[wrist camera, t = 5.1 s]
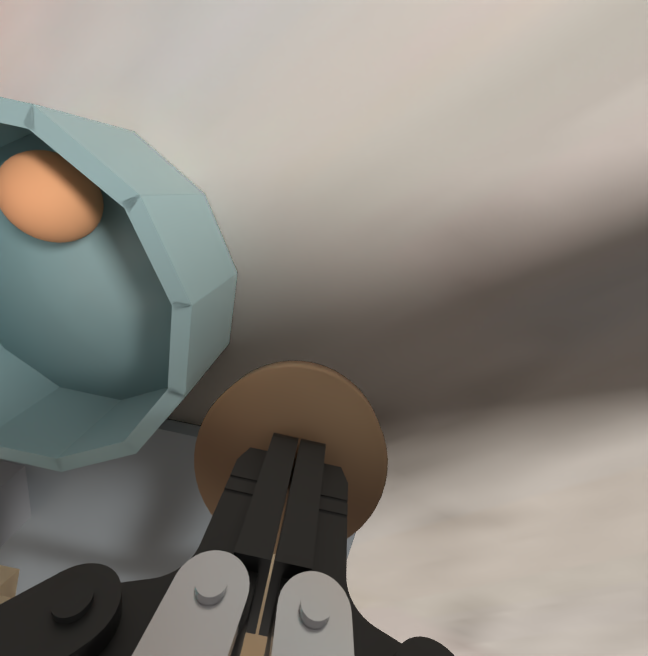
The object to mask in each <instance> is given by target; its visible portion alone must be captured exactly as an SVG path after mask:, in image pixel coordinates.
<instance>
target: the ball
mask: <svg viewBox="0 0 648 656" xmlns="http://www.w3.org/2000/svg"><path fill="white" fill-rule="evenodd" d="M103 208H104V203H103V196H102V193H101V190H100V188H99V187H98V186H97V185H96V184H95V183H93V182H92V181H91V180H90V179H89V178H87V177H86V176H85V175H84V174H82V173H81V172H80V171H79V170H78V169H76V168H75V167H74V166H73V165H72V164H70V163H69V162H68V161H67V160H66V159H64V158H63V157H62V156H61V155H60V154H58V153H56V152H52V151H47V150H29V151H24V152H21V153H18V154H16V155H14V156H12V157H10V158H9V159H8V160H6V161H5V162H4V163H3V164H2V165H1V167H0V209H1V210H2V212H3V214H4V215H5V216H6V217H7V219H8V220H9V221H10V222H11V223H12V224H13V225H15V226H16V227H17V228H18V229H20V230H21V231H23V232H24V233H26V234H28V235H30V236H32V237H34V238H37V239H40V240H44V241H48V242H56V243H64V242H72V241H76V240H79V239H81V238H83V237H85V236H87V235H88V234H90V233H91V232H92V231H93V230H94V229H95V228H96V227H97V225H98V224H99V222H100V220H101V218H102V215H103Z"/></svg>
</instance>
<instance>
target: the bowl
mask: <svg viewBox="0 0 648 656" xmlns="http://www.w3.org/2000/svg"><path fill="white" fill-rule="evenodd" d="M29 150H47V151H52V152H56V153H58V154H60V155H61V156H62V157H63V158H64V159H66V160H67V161H68V162H69V163H70V164H72V165H73V166H74V167H75V168H76V169H78V170H79V171H80V172H81V173H82V174H84V175H85V176H86V177H87V178H89V179H90V180H91V181H92V182H93V183H95V184H96V185H97V186H98V187H99V188H100V190H101V193H102V196H103V203H104V208H103V215H102V218H101V220H100V222H99V224H98V225H97V227H96V228H95V229H94V230H93V231H92V232H91V233H90V234H88V235H87V236H85V237H83V238H81V239H79V240H76V241H72V242H64V243H56V242H48V241H44V240H40V239H37V238H34V237H32V236H30V235H28V234H26V233H24V232H23V231H21V230H20V229H18V228H17V227H16V226H15V225H13V224H12V223H11V222H10V221H9V220H8V219H7V217H6V216H5V215H4V214H3V212H2V210H1V209H0V459H5V460H9V461H14V462H18V463H23V464H28V465H32V466H37V467H42V468H46V469H51V470H55V471H60V472H63V471H67V470H71V469H75V468H79V467H84V466H88V465H92V464H96V463H100V462H104V461H108V460H112V459H116V458H120V457H124V456H129V455H133V454H136V453H137V452H138V451H139V450H140V448H141V447H142V446H143V445H144V444H145V443H146V441H147V440H148V439H149V438H150V437H151V436H152V435H153V433H154V432H155V431H156V430H157V429H158V428H159V427H160V425H161V424H162V423H163V422H164V421H165V420H166V419H167V417H168V416H169V415H170V414H171V413H172V412H173V411H174V409H175V408H176V407H177V406H178V405H179V404H180V402H181V401H182V400H183V399H184V398H185V397H186V396H187V395H188V393H189V392H190V391H191V390H192V388H193V387H194V386H195V385H196V384H197V382H198V381H199V380H200V379H201V377H202V376H203V375H204V374H205V372H206V371H207V370H208V369H209V368H210V366H211V365H212V364H213V363H214V361H215V360H216V359H217V358H218V356H219V355H220V354H221V353H222V352H223V350H224V349H225V348H226V347H227V345H228V344H229V341H230V332H231V324H232V315H233V307H234V298H235V290H236V282H237V270H236V268H235V266H234V263H233V261H232V258H231V256H230V254H229V251H228V249H227V246H226V244H225V241H224V239H223V237H222V234H221V232H220V229H219V227H218V224H217V222H216V220H215V217H214V215H213V212H212V210H211V208H210V205H209V203H208V200H207V198H206V195H205V193H203V192H202V191H201V190H200V189H199V188H198V187H196V186H195V185H194V184H193V183H192V182H191V181H190V180H189V179H187V178H186V177H185V176H184V175H183V174H182V173H181V172H179V171H178V170H177V169H176V168H175V167H174V166H173V165H171V164H170V163H169V162H168V161H167V160H166V159H165V158H164V157H162V156H161V155H160V154H159V153H158V152H157V151H156V150H154V149H153V148H152V147H151V146H150V145H149V144H148V143H146V142H145V141H144V140H143V139H142V138H141V137H140V136H138V135H137V134H136V133H135V132H134V131H130V130H127V129H123V128H119V127H116V126H112V125H108V124H105V123H101V122H97V121H94V120H90V119H86V118H83V117H79V116H75V115H72V114H68V113H65V112H61V111H57V110H54V109H50V108H46V107H43V106H39V105H35V104H30V103H25V102H21V101H16V100H12V99H7V98H3V97H0V167H1V165H2V164H3V163H4V162H5V161H6V160H8V159H9V158H10V157H12V156H14V155H16V154H18V153H21V152H24V151H29Z"/></svg>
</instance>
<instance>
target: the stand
mask: <svg viewBox="0 0 648 656" xmlns="http://www.w3.org/2000/svg"><path fill="white" fill-rule="evenodd" d="M200 427H201V426H197V425H192V424H187V423H183V422H178V421H174V420H169V419H166V420H165V421H164V422H163V423H162V424H161V425H160V427H159V428H158V429H157V430H156V431H155V432H154V433H153V435H152V436H151V437H150V438H149V439H148V440H147V441H146V443H145V444H144V445H143V446H142V447H141V448H140V450H139V451H138V452H137V453H136V454H133V455H129V456H124V457H120V458H116V459H112V460H108V461H104V462H100V463H96V464H92V465H88V466H84V467H79V468H75V469H71V470H67V471H63V472H60V471H55V470H51V469H46V468H42V467H37V466H32V465H28V464H23V463H18V462H14V461H9V460H5V459H0V565H3V566H7V567H12V568H17V569H20V571H19V577H18V583H17V589H16V595H15V596H17V595H18V594H20V593H22V592H24V591H26V590H28V589H30V588H31V587H33V586H35V585H37V584H39V583H41V582H43V581H44V580H46V579H48V578H50V577H52V576H54V575H56V574H58V573H59V572H61V571H63V570H66V569H68V568H70V567H73V566H76V565H80V564H86V563H98V564H102V565H106V566H108V567H110V568H111V569H113V570H114V571H115V572H116V574H117V575H118V576H119V579H120V582H128V581H136V580H144V579H151V578H157V577H161V576H164V575H167V574H169V573H171V572H173V571H175V570H177V569H178V568H180V567H182V566H183V565H184V564H185V563H186V562H187V561H188V560H189V559H190V558H191V557H192V556H193V555H194V554H195V552H196V551H197V549H198V547H199V545H200V543H201V541H202V539H203V536H204V534H205V532H206V529H207V527H208V525H209V522H210V520H211V518H212V515H211V513H210V512H209V510H208V508H207V507H206V505H205V503H204V501H203V499H202V496H201V494H200V492H199V489H198V485H197V481H196V476H195V469H194V452H195V444H196V440H197V436H198V432H199V429H200ZM355 533H356V532H355ZM355 533H354V534H353V535H352V536H350V537H349V538H347V557H348V554H349V551H350V548H351V545H352V542H353V539H354V536H355Z"/></svg>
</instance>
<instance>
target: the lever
mask: <svg viewBox="0 0 648 656" xmlns="http://www.w3.org/2000/svg"><path fill="white" fill-rule="evenodd" d="M273 433H279V434H283V435H288V436H292V437H297V438H299V439H298V444H297V448H296V453H295V458H294V462H293V467H292V471H291V476H290V480H289V485H288V489H287V494H286V498H285V503H284V507H283V512H282V516H281V521H280V525H279V530H278V534H277V539H276V543H275V548H274V552H273V557H272V561H271V566H270V570H269V575H268V579H267V584H266V588H265V593H264V597H263V602H262V606H261V611H260V615H259V620H258V624H257V629H256V633H255V634H251V633H247V632H246V634H245V638H244V642H243V646H242V650H241V654H240V656H264V653H265V648H266V643H267V637H266V636H262V635H258V634H259V629H260V624H261V620H262V615H263V610H264V606H265V601H266V597H267V592H268V587H269V583H270V578H271V573H272V569H273V564H274V559H275V555H276V550H277V546H278V541H279V536H280V532H281V527H282V522H283V518H284V513H285V508H286V504H287V499H288V495H289V490H290V485H291V481H292V476H293V472H294V467H295V463H296V458H297V454H298V449H299V445H300V440H301V438H302V439H306V440H311V441H315V442H320V443H324V444H326V450H325V459H324V463H325V464H329V465H334V466H338V467H341V468H342V470H343V473H344V475H345V477H346V479H347V482H348V502H347V504H348V515H347V538H349V537H350V536H352V535H353V534H354V533H355V532H356V531H357V530H358V529H360V528H361V527H362V526H363V524H364V523H365V522H366V521H367V520H368V519H369V517H370V516H371V514H372V513H373V511H374V510H375V508H376V506H377V504H378V502H379V500H380V498H381V496H382V493H383V489H384V486H385V482H386V476H387V464H388V458H387V448H386V443H385V439H384V435H383V433H382V430H381V427H380V425H379V422H378V420H377V418H376V415H375V413H374V410H373V409H372V407H371V405H370V403H369V401H368V400H367V399H366V397H365V396H364V395H363V393H362V392H361V391H360V390H359V389H358V388H357V387H356V386H355V385H354V384H353V383H352V382H351V381H350V380H348V379H347V378H346V377H345V376H343V375H341V374H340V373H338V372H336V371H335V370H332V369H330V368H328V367H326V366H323V365H319V364H316V363H312V362H306V361H282V362H276V363H272V364H268V365H265V366H262V367H260V368H257V369H255V370H253V371H251V372H250V373H248V374H246V375H245V376H243V377H242V378H241V379H239V380H238V381H237V382H236V383H234V384H233V385H232V386H231V387H230V388H229V389H227V390H226V391H225V392H224V393H223V394H222V395H221V396H220V397H219V398H218V399H217V400H216V402H215V403H214V404H213V405H212V407H211V408H210V409H209V411H208V413H207V415H206V416H205V418H204V420H203V422H202V425H201V427H200V429H199V432H198V436H197V440H196V444H195V452H194V469H195V476H196V481H197V485H198V489H199V492H200V494H201V496H202V499H203V501H204V503H205V505H206V507H207V508H208V510H209V512H210V513H211V515H212V516H213V513H214V511H215V509H216V506H217V504H218V502H219V499H220V497H221V495H222V493H223V491H224V488H225V486H226V483H227V481H228V479H229V478H230V474H231V472H232V470H233V467H234V465H235V463H236V460H237V459H238V458H239V457H240V456H241V455H242V454H243V453H244V452H246V451H247V450H248V449H249V448H250V447H252V448H256V449H261V450H265V451H268V448H269V445H270V442H271V439H272V436H273ZM19 571H20V569H17V568H12V567H7V566H3V565H0V604H2V603H4V602H5V601H7V600H9V599H11V598H13V597H15V595H16V589H17V583H18V577H19Z"/></svg>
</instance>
